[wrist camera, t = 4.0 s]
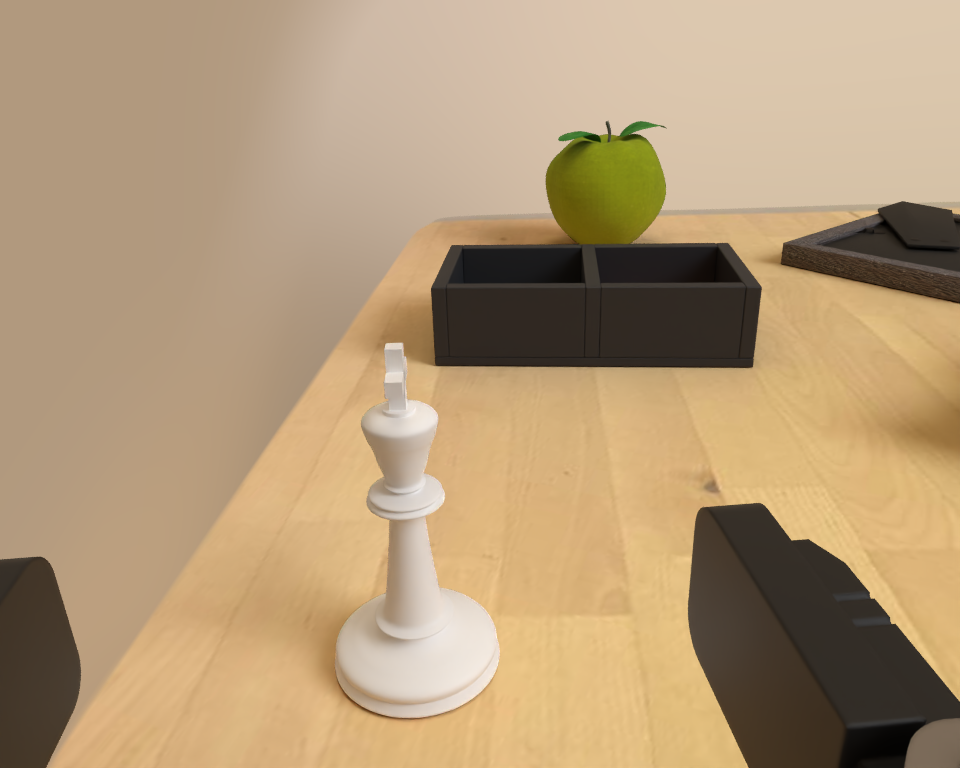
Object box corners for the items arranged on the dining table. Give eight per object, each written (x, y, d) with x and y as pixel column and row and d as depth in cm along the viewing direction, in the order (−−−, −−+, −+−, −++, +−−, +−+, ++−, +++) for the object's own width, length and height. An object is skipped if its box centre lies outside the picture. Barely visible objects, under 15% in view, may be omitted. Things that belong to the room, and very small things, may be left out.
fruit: (681, 255, 64) (691, 123, 60) (569, 266, 62) (571, 131, 58) (633, 229, 72) (639, 112, 68) (533, 239, 70) (533, 118, 66)
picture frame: (898, 224, 71) (780, 263, 61) (902, 201, 70) (784, 237, 60) (1072, 251, 62) (967, 304, 52) (1079, 225, 61) (974, 273, 51)
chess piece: (497, 599, 27) (489, 310, 23) (503, 716, 22) (494, 382, 18) (346, 604, 27) (312, 316, 23) (323, 722, 22) (274, 390, 18)
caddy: (435, 365, 45) (430, 287, 43) (454, 312, 53) (451, 245, 52) (752, 367, 44) (762, 286, 42) (722, 312, 52) (728, 242, 50)
